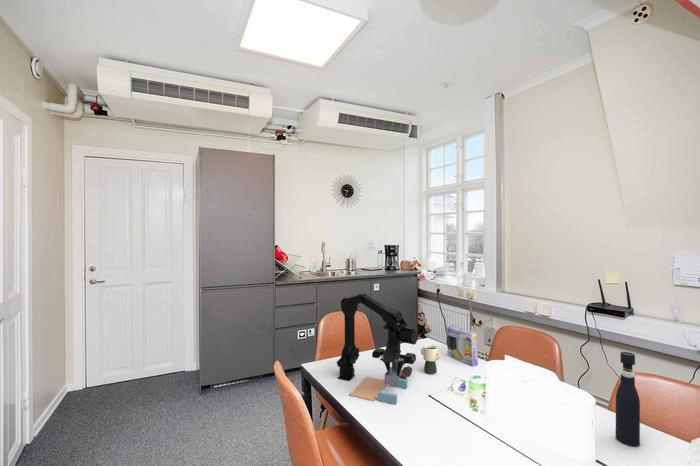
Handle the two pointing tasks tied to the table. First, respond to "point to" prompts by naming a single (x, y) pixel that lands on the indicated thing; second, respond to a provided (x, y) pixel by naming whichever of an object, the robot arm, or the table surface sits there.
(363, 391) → the mat
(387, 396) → the vise jaws
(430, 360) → the character mug
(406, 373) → the brown oblong lump
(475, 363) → the cake pan box
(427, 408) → the table surface
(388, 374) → the crook bar
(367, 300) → the robot arm
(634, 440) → the black bottle
